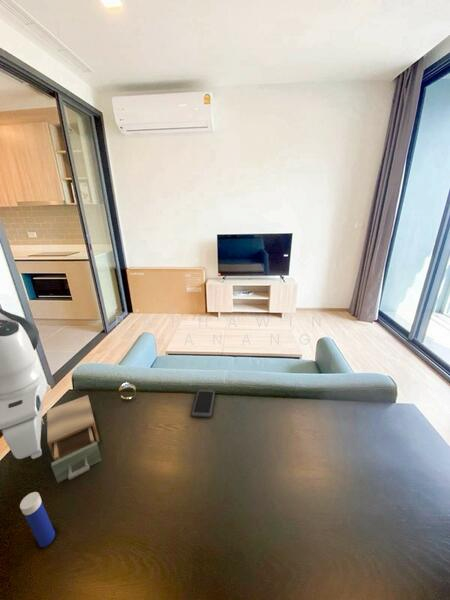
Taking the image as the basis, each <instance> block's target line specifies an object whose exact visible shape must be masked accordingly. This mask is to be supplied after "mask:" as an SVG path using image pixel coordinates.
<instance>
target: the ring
mask: <svg viewBox="0 0 450 600" xmlns="http://www.w3.org/2000/svg"><path fill="white" fill-rule="evenodd" d="M126 389H131V390H133V392H134V393H133V395H131V396H128V397H124V396H123V395H122V394H121V392H122V391H124V390H126ZM136 395H137V387H136V386H135V385H134V384H132V383H129V382H124V383H123V384H121V385H120V386H119V388H118V390H117V397H118V398H119V399H120V400H123V401H131V400H133V399H134V398H135V397H136Z"/></svg>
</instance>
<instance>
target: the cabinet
mask: <svg viewBox="0 0 450 600" xmlns="http://www.w3.org/2000/svg"><path fill="white" fill-rule="evenodd" d="M90 426H91V428H92V432H93V436H94V441H95V442H97V444H99V443H100V438H99V433H98V430H97V425H96V421H95V417H94V412H93V409H92V405H91V402H90V398H89V394H86V395H84V396H81V397H78V398H76V399H73V400H70V401H67V402H65V403H63V404H59V405H57V406H54V407H52V408H49V409H46V432H47V433H46V434H47V435H46V437H47V438H46V439H47V446H48V448H49V452H50V454H51V457H52V459H53V462H54V461H55V459H54V442H56V441H58V440H61V439H63V438H65V437H68V436H70V435H72V434H74V433H77V432H79V431H81V430H83V429H86V428H88V427H90Z"/></svg>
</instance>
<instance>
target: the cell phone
mask: <svg viewBox="0 0 450 600" xmlns="http://www.w3.org/2000/svg"><path fill="white" fill-rule="evenodd" d="M215 394H216V391H215V390H213V389H198V390H197V392H196V396H195V400H194V403H193V407H192V409H191V417H194V418H210V417H211V416H212V412H213V406H214V400H215Z"/></svg>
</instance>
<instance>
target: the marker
mask: <svg viewBox="0 0 450 600" xmlns="http://www.w3.org/2000/svg"><path fill="white" fill-rule="evenodd" d="M19 508H20V511H21V512H22V514H23V515H24V517H25V519H26V521H27V523H28V525H29V527H30V529H31V532H32V534H33V536H34V538H35V539H36V542H37V544H38V546H39V547H41V548H45V547H47V546H49V545H50V544H51V543H52V541H53V540H54V539H55V536H56V531H55V529H54V527H53V524H52V522H51V520H50V518H49V516H48V513H47V510H46V508H45V506H44V504H43V501H42V497H41V495H40V493H39V492H37V491H33V492H30V493H28V494H27V495H26V496H24V497H23V498H22V500H21V501H20V504H19Z"/></svg>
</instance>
